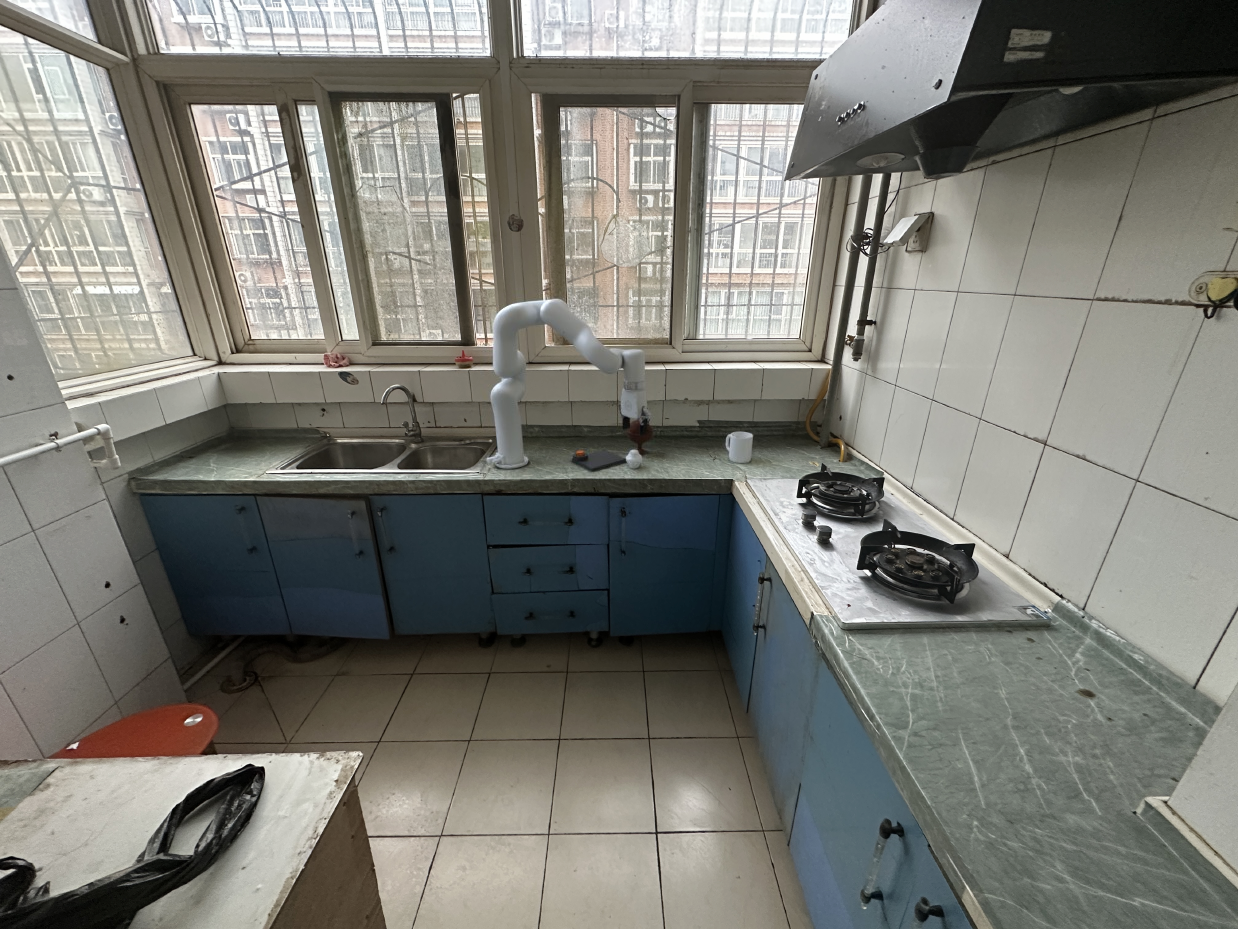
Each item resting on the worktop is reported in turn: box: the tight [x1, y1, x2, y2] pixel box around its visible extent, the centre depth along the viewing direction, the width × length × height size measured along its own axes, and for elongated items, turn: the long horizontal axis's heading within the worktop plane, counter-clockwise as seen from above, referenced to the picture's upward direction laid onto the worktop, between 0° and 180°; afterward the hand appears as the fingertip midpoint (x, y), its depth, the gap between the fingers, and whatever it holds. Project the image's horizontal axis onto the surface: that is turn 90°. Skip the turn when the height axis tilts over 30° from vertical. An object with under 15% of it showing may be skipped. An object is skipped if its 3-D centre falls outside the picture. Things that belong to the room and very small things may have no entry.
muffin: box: [625, 449, 643, 469], centre depth 186 cm, size 6×6×7 cm
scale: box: [571, 449, 627, 472], centre depth 192 cm, size 16×14×3 cm
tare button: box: [576, 450, 584, 456], centre depth 192 cm, size 3×3×2 cm
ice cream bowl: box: [626, 418, 654, 456], centre depth 199 cm, size 11×11×15 cm
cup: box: [725, 431, 754, 464], centre depth 193 cm, size 8×12×10 cm
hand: (634, 431), depth 182 cm, fingers open, 9 cm apart
